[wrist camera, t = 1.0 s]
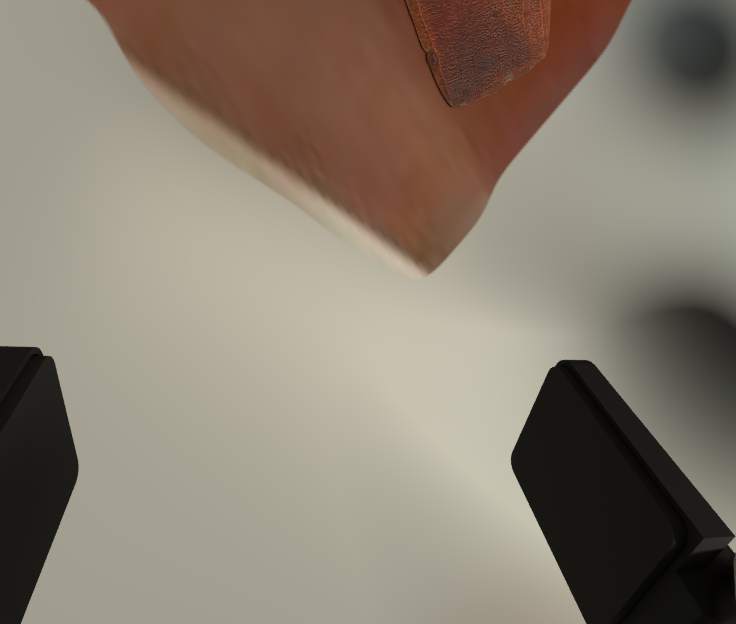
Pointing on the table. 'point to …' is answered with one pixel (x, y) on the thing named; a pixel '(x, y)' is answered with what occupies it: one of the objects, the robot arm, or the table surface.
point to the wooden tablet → (480, 43)
